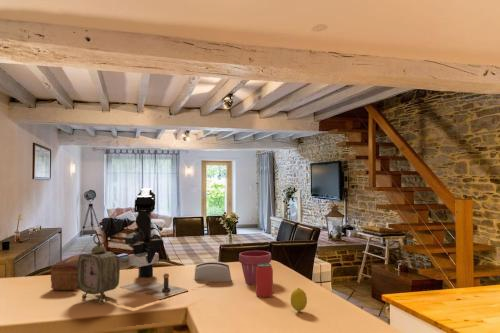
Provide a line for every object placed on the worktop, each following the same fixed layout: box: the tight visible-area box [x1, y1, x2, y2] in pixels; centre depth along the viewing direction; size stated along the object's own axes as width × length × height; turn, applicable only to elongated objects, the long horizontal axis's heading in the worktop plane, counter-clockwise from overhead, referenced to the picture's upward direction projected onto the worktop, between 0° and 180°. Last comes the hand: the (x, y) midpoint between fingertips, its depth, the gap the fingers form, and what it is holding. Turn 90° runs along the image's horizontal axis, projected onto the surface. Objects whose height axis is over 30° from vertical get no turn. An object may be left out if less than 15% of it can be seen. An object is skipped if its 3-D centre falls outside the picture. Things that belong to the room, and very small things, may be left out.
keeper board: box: [119, 272, 189, 301], centre depth 154 cm, size 26×14×8 cm, turn 54°
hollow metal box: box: [128, 252, 160, 268], centre depth 158 cm, size 7×10×4 cm
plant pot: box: [238, 250, 272, 286], centre depth 167 cm, size 14×14×13 cm
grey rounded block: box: [193, 261, 232, 283], centre depth 169 cm, size 17×5×10 cm, turn 90°
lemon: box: [290, 287, 308, 313], centre depth 127 cm, size 6×6×8 cm
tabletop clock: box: [77, 233, 121, 305], centre depth 143 cm, size 14×9×25 cm, turn 56°
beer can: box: [255, 263, 274, 299], centre depth 146 cm, size 7×7×12 cm
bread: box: [50, 253, 82, 291], centre depth 167 cm, size 14×28×12 cm, turn 176°
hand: (143, 262), depth 158 cm, fingers closed on hollow metal box, 7 cm apart
